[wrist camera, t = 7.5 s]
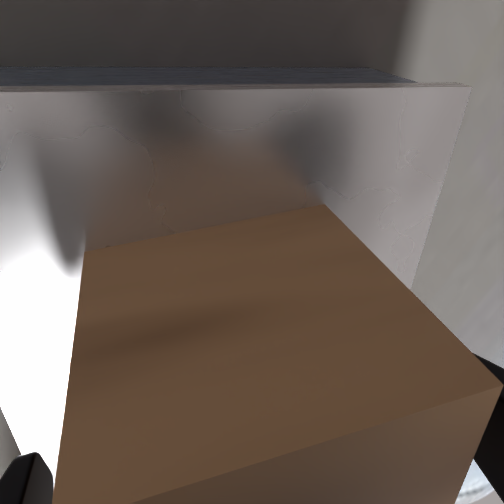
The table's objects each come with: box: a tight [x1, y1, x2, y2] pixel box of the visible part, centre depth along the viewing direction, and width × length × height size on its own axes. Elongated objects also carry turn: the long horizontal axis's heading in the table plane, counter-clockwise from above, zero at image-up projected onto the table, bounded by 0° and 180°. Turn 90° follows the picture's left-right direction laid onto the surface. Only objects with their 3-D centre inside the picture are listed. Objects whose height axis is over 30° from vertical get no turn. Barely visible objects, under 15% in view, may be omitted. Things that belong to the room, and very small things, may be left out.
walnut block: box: [52, 204, 504, 504], centre depth 9 cm, size 6×6×6 cm
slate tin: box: [0, 67, 472, 488], centre depth 14 cm, size 12×12×5 cm
